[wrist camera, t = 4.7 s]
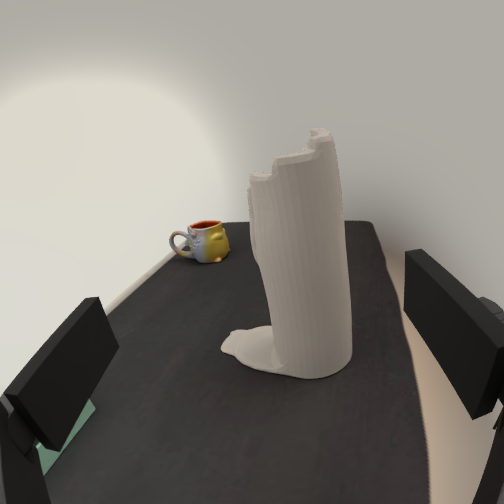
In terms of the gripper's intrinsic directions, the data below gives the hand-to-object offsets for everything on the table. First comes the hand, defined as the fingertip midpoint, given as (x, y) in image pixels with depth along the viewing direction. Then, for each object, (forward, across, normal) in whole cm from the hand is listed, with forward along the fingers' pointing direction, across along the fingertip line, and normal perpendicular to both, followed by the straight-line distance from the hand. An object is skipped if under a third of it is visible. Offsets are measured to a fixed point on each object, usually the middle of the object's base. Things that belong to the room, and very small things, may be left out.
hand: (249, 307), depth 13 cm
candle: (+15, 0, -14) cm, 20 cm away
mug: (+46, -14, -14) cm, 50 cm away
